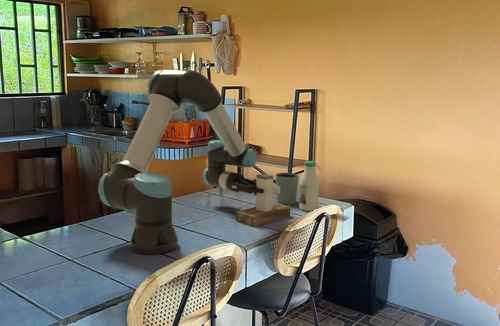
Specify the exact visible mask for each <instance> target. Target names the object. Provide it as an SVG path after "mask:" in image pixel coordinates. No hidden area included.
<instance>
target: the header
mask: <svg viewBox="0 0 500 326" xmlns="http://www.w3.org/2000/svg"><path fill="white" fill-rule="evenodd" d="M288 217H291V206H286V205H284V204H280V203H277V202H273V210H272V211H268V212H262V211H258V210H256V206H253V207H250V208H246V209H242V210H239V211H236V213H235V221H236V222H239V223H242V224H245V225H248V226H252V227H255V228H256V227H259V226H262V225H266V224H269V223H272V222H275V221H279V220H281V219H285V218H288Z"/></svg>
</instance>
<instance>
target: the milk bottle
mask: <svg viewBox="0 0 500 326" xmlns="http://www.w3.org/2000/svg"><path fill="white" fill-rule="evenodd" d="M303 164H304V171H303V173H302V175H301V178H300V180H299V181H300V182H299V202H298V203H299V204H298V205H299V206H298V207H299V209H300V210H301V211H305V212H313V211H312V210H314V209H317V208H318V209H319V195H320V193H319V192H320V191H319V189H320V187H319V185H320V184H319V182H320V181H319V177H318V175H317V172H316V167H317V165H316V164H317V162H316V161H314V160H308V161H307V160H306V161H304V163H303ZM318 209H317V210H318Z"/></svg>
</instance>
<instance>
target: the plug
mask: <svg viewBox="0 0 500 326" xmlns="http://www.w3.org/2000/svg"><path fill="white" fill-rule="evenodd" d="M255 179H256V186H257V188H258V186H261V187H266V188H270V189H272V196H267V195H263V194H259V193H258V192H257V195H255V196H256V197H255V207H256V210H258V211H262V212H268V211H272V210H273V203H274V201H273V199H274V193H273V185H274V175H273V174H268V173H260V174H256V178H255Z"/></svg>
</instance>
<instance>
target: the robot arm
mask: <svg viewBox="0 0 500 326" xmlns="http://www.w3.org/2000/svg"><path fill="white" fill-rule="evenodd" d="M147 88H148V89H147V94H148V98H147V99H148V101H149V106H148V107H147V109H146V111H145V113H144V115H143V117H142V119H141V121H140V124H139V126H138V127H137V130H136V132H135V134H134V135H133V138H132V140H131V142H130V144H129V146H128V149H127V150H126V153H125V155H124V157H123V159H122V161H119V162H116V163H115V165H114V167H113V169H112V171H107V172H106V173H104V174H103V175H102V176H101V177H100V179H99V181H98V182H99V183H98V186H97V187H98V194H99V199H100V201H101V202H102V203H103V204H104V205H106V206H108V207H110V208H112V209H116V210H117V209H120V210H123V211H128V212H133V213H134V222H135V223H134V228H133V231H132V234H131V237H130V243H129V244H130V246H129V247H130V250H131V251H132V252H134V253H137V254H141V255H160V254H166V253H169V252H171V251H174V250H176V249H177V248H178V247H179V239H178V235H177V233H176V230H175V227H174V225H173V189H172V181H171V179H170V178H169V177H168V176H166V175H165V174H161V173H157V172H147V171H148V168H149V166H150V163H151V161H152V159H153V157H154V155H155V152H156V150H157V148H158V146H159V145H160V142H161V140H162V138H163V135H164V133H165V131H166V128H167V127H168V124H169V122H170V120H171V118H172V115H173V114H176V113H178V112H179V110H180V109H181V106H182V104H189V105H190V104H191V105H193V106H195V107H196V109H197V110H198V111H199V112H200V113H203V114H204V116H205V118H206V119H207V121H208V122H209V124H210V126H211V128H212V129H213V131H214V132H215V134H216V136H217V137H218V139H219V140H217V139H215V140H210V141H209V142H208V144H207V167H206V168H205V169H204V170H203V173H202V180H203V182H204V183H205V184H206V185H208V186H209V185H210V186H212V187H215V188H220V189H224V190H226V191H232V192H235V193H238V192H243V193H247V194H253V196H256V195H257V192H258V193H259V194H263V195H267V196H272V189H270V188H266V187H261V186H258V188H257V186H256V178H253V179H249V178H245V176H244V175H243V174H241V173H238V172H233V171H231V170H226V168H227V166H234V167H239V168H240V167H241V168H250V169H251V168H253V167H254V166H255V165H256V163H257V161H258V153H257V151H256V150H254V149H251V148H248V147H247V145H246V144H245V142H244V140H243V138H242V137H241V135H240V133H239V131H238V129H237V128H236V126H235V123H234V122H233V121H232V118H231V117H230V115H229V113H228V112H227V110H226V108H225V106H224V105H223V103H222V102H223V98H222V96H221V94H220V92H219V90H218V89H217V87H216V85H214V84H213V82H212V81H211V80H210V79H209V78H208V77H206V76H205V75H204V74H202V73H201V72H199V71H196V70H191V69H187V70H185V69H183V70H182V69H180V70H179V69H177V70H176V69H174V70H173V69H163V70H158V71H155V72H154V73H152V75H150V78H149V80H148V83H147ZM226 165H227V166H226ZM273 194H275V195H276V194H280V187H278V186H276V185H274V184H273Z"/></svg>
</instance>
